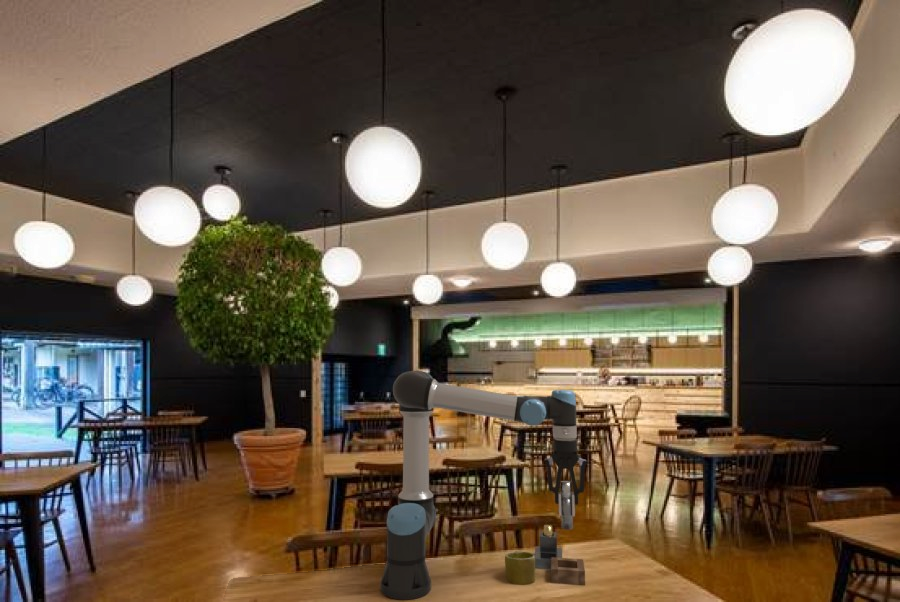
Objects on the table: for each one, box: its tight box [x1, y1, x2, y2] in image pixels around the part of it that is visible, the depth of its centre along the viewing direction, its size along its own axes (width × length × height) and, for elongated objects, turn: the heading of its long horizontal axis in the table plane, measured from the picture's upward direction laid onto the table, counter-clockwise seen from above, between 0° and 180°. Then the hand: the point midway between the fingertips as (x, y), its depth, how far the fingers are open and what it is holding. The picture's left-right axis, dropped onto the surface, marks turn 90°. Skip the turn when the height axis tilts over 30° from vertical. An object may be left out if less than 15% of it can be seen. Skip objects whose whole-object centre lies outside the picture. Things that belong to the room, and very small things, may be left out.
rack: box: [550, 557, 586, 586], centre depth 167 cm, size 10×10×5 cm
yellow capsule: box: [543, 524, 553, 536], centre depth 183 cm, size 3×3×7 cm
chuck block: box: [534, 530, 563, 571], centre depth 180 cm, size 9×12×9 cm
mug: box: [504, 550, 536, 586], centre depth 167 cm, size 12×10×10 cm
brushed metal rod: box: [560, 480, 574, 531], centre depth 169 cm, size 3×3×14 cm
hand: (566, 514), depth 169 cm, fingers closed on brushed metal rod, 3 cm apart
